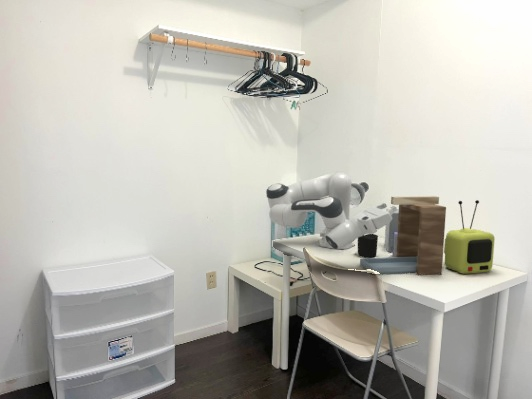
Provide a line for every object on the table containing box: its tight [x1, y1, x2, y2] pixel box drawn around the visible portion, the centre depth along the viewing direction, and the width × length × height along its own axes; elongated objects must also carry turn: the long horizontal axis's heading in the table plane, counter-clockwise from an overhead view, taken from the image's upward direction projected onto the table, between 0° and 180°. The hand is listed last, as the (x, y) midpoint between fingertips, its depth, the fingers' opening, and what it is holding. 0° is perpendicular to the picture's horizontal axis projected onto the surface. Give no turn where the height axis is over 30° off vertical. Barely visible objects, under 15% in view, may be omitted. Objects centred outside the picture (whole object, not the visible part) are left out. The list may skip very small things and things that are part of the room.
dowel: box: [390, 195, 440, 206], centre depth 170 cm, size 3×20×3 cm, turn 99°
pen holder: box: [357, 233, 379, 258], centre depth 193 cm, size 9×9×10 cm
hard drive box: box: [384, 208, 399, 253], centre depth 206 cm, size 16×8×20 cm, turn 170°
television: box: [443, 199, 495, 275], centre depth 172 cm, size 18×18×30 cm
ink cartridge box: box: [391, 232, 398, 258], centre depth 188 cm, size 10×6×14 cm, turn 78°
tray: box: [359, 256, 417, 276], centre depth 173 cm, size 14×27×3 cm, turn 99°
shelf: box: [396, 204, 447, 276], centre depth 172 cm, size 20×10×28 cm, turn 9°
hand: (390, 206), depth 168 cm, fingers open, 8 cm apart
